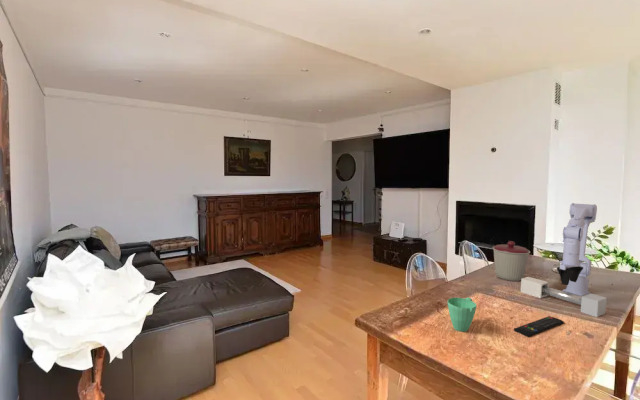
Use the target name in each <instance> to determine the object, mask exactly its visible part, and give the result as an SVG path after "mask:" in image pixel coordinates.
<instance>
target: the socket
mask: <svg viewBox="0 0 640 400" xmlns="http://www.w3.org/2000/svg"><path fill="white" fill-rule="evenodd" d="M581 297H582V301H581V305H580V312H581V313H583V314H586V315H589V316H592V317H595V318H598V317H601V316H602V315H605V314H606V311H607V310H606V309H607V299H608V298H607V297H606V296H601V295H599V294H594V293H591V292H590V293H588V294H586V295H583V296H581Z"/></svg>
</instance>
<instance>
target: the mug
mask: <svg viewBox="0 0 640 400" xmlns="http://www.w3.org/2000/svg"><path fill="white" fill-rule="evenodd" d="M447 308H448V309H447V310H448V313H449V317H450V321H451V323H452V324H451V325H452V326H453V329H454V330H455V331H458V332H461V333H466V332H468V331H469V329H470V327H471V324H472V322H473V320H474V317H475V314H476V309H477V303H476V302H474V301H473V298H471V297H465V298H464V297H463V298H462V297H451V298H448V299H447Z"/></svg>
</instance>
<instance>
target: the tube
mask: <svg viewBox="0 0 640 400" xmlns="http://www.w3.org/2000/svg"><path fill="white" fill-rule="evenodd" d="M542 293H543V294H546V295H547V296H550V297H553V298H557V299H560V300H563V301H567V302H569V303H573V304H576V305H580V306H581V301H582V296H579V295H576V294H572V293H569V292H565V291H563V290H559V289H556V288H554V287H553V288H552V287H549V286H548V287H546V286H542Z"/></svg>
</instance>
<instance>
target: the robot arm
mask: <svg viewBox="0 0 640 400" xmlns="http://www.w3.org/2000/svg"><path fill="white" fill-rule="evenodd" d="M597 211H598V206H597V205H596V204H589V203H587V204H585V203H574V202H572V203H571V204H570V205H569V215H570V219H568V220H569V221H568V222H567V225H566V226H564V227H563V230H562V238H563V239H562V240H563V241H562V242H563V250H562V251H563V252H562V260H559V267H556V270H557V271H558V272H557V273H558V274H559V277H560V281H561V285H564V286H566V288H564V289H562V291H564V292H567V293H571V294H574V295H578V296H581V297H582V296H585V295H587V294H590V293H591V291H589V283H590V281H589V276H591V272H592V261H591V259H589V258H588V257H587V256H586V247H587V239H588V233H589V231H588V230H589V226H590V224H592V223H595V222H596V218H597Z"/></svg>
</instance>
